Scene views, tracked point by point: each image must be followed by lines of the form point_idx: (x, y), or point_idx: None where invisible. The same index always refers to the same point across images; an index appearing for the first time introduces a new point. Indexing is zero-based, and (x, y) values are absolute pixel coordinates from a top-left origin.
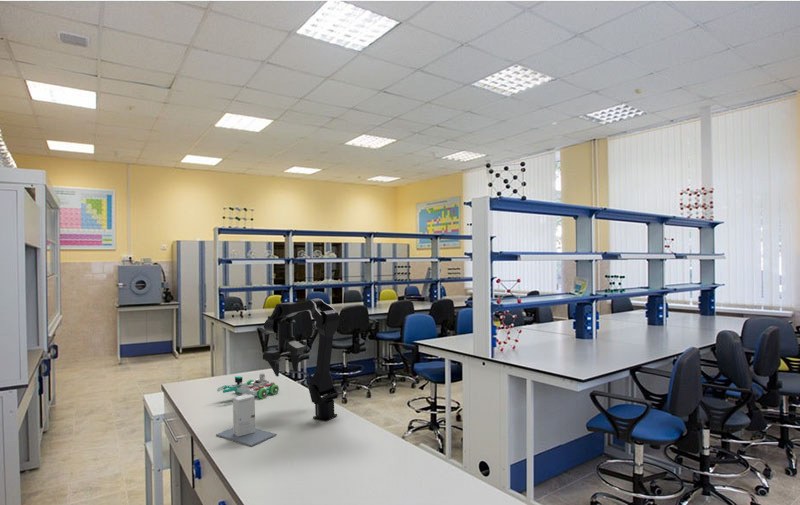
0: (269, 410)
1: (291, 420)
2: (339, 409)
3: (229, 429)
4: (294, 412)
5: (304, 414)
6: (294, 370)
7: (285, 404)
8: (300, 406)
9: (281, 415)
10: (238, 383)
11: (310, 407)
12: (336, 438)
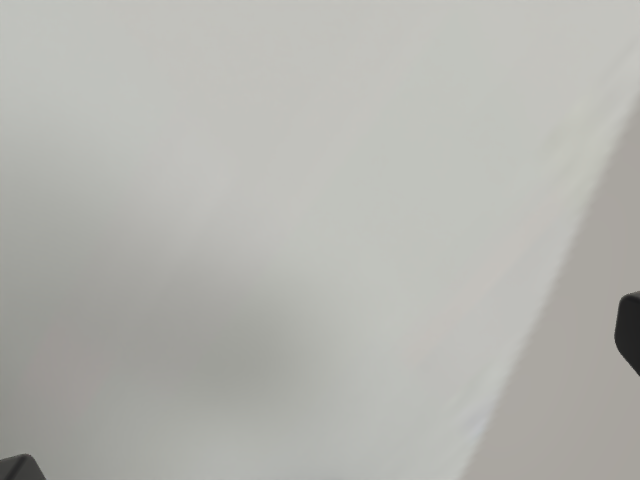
0: (25, 91)
1: (81, 464)
2: (454, 474)
3: None
4: (202, 333)
5: (233, 419)
6: (625, 330)
7: (279, 50)
8: (338, 235)
9: (67, 322)
10: None
11: (372, 318)
12: None
